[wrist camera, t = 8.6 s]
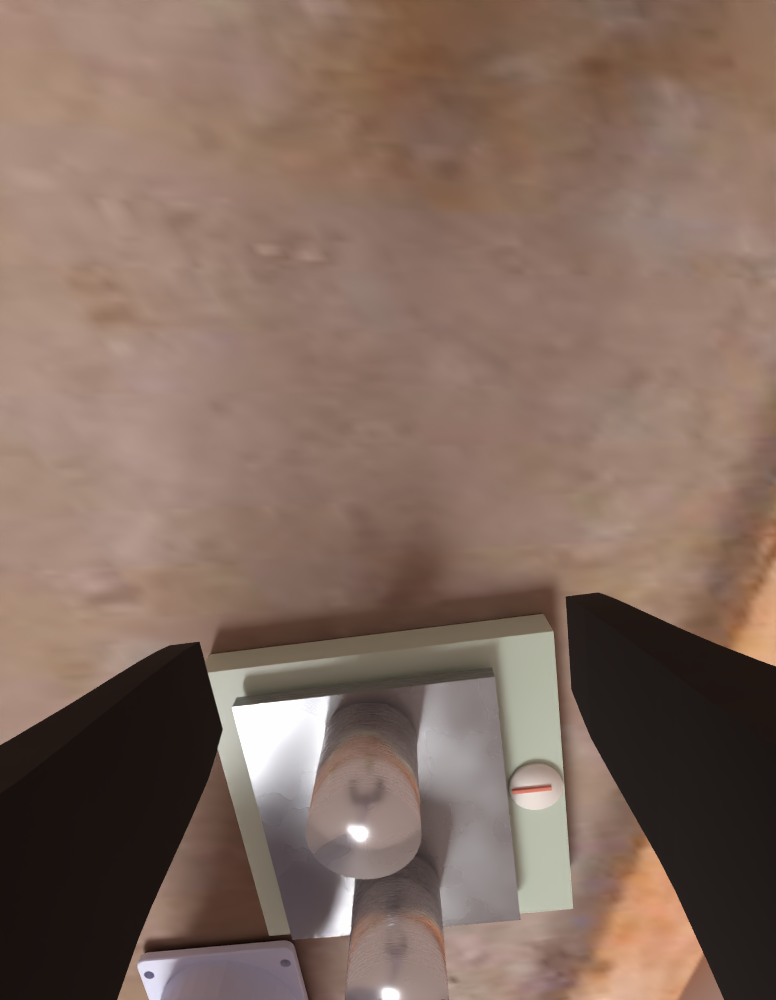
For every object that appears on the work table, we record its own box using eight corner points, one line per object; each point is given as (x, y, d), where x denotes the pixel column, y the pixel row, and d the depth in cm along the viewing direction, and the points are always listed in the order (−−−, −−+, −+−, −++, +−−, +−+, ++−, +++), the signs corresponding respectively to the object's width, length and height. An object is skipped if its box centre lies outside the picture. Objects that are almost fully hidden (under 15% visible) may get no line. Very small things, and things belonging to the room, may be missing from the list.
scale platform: (512, 884, 23) (520, 919, 22) (298, 904, 24) (292, 940, 22) (487, 653, 20) (494, 676, 19) (243, 682, 21) (231, 707, 19)
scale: (563, 878, 24) (575, 915, 23) (276, 905, 25) (267, 943, 23) (543, 613, 21) (556, 635, 19) (210, 654, 21) (194, 678, 20)
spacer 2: (444, 913, 22) (454, 1032, 18) (361, 921, 22) (354, 1040, 18) (434, 848, 21) (442, 957, 17) (347, 857, 21) (336, 967, 17)
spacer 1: (425, 770, 20) (432, 868, 16) (337, 787, 20) (323, 887, 16) (404, 692, 19) (406, 777, 15) (312, 712, 19) (291, 799, 15)
